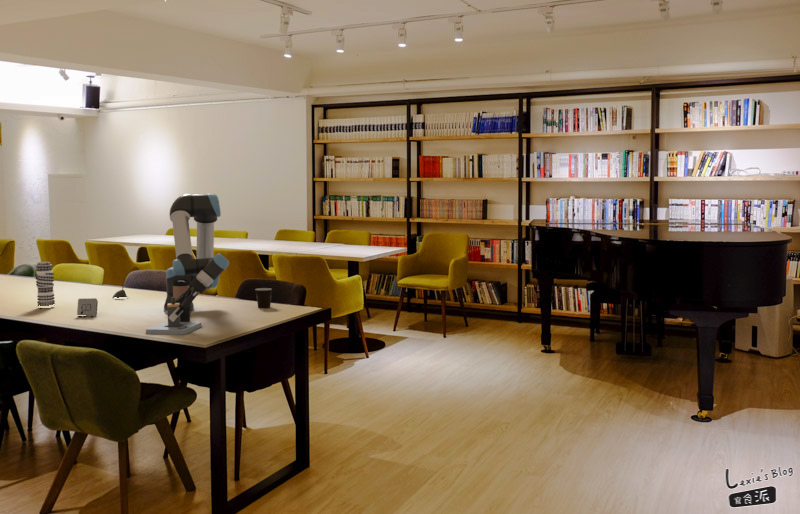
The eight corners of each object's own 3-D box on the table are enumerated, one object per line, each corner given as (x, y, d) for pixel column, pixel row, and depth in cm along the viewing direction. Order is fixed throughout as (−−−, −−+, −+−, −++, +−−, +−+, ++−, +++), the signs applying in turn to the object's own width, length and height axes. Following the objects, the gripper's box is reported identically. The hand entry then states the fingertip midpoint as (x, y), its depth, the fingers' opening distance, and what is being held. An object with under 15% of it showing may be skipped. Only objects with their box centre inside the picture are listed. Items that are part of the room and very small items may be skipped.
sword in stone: (108, 298, 417) (108, 278, 416) (120, 297, 423) (120, 277, 422) (119, 300, 411) (119, 279, 410) (131, 299, 418) (130, 278, 417)
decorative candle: (55, 305, 392) (53, 261, 390) (55, 308, 384) (53, 262, 381) (37, 307, 388) (34, 261, 386) (36, 309, 380) (34, 263, 377)
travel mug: (176, 320, 346) (174, 279, 344) (192, 319, 346) (190, 279, 344) (172, 322, 338) (170, 281, 336) (188, 322, 339) (187, 281, 337)
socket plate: (146, 333, 313) (145, 327, 313) (165, 325, 331) (164, 320, 331) (184, 334, 311) (184, 328, 310) (201, 326, 328) (201, 321, 328)
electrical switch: (76, 317, 356) (76, 298, 356) (81, 316, 361) (81, 298, 361) (95, 317, 356) (95, 298, 356) (99, 316, 361) (99, 298, 361)
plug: (169, 329, 322) (167, 296, 321) (180, 328, 324) (179, 296, 322) (168, 331, 318) (166, 298, 316) (180, 330, 319) (178, 297, 318)
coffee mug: (268, 309, 374) (268, 290, 373) (253, 308, 376) (252, 290, 375) (276, 305, 386) (276, 287, 385) (262, 305, 387) (261, 287, 386)
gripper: (212, 291, 314) (178, 327, 309) (203, 284, 337) (171, 318, 332) (199, 280, 311) (165, 316, 307) (191, 274, 334) (159, 308, 329)
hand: (168, 317), depth 319 cm, fingers open, 13 cm apart
